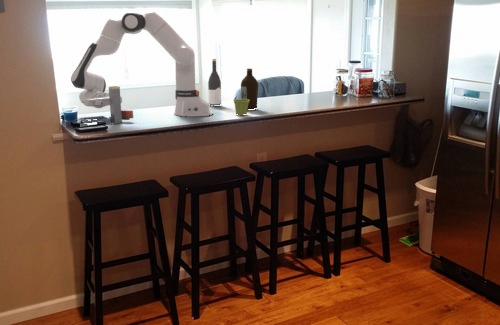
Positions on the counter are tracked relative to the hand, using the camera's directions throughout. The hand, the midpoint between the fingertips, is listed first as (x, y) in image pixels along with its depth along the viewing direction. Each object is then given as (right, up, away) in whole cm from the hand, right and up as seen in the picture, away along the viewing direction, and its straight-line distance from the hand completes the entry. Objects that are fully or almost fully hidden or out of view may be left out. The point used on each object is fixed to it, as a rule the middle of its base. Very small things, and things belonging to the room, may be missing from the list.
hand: (110, 102), depth 257 cm
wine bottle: (+51, +5, +62) cm, 81 cm away
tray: (-7, -11, -1) cm, 13 cm away
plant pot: (+69, -4, +26) cm, 74 cm away
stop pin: (+4, -11, -2) cm, 12 cm away
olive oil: (+73, +1, +47) cm, 87 cm away
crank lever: (+5, -9, +3) cm, 11 cm away
